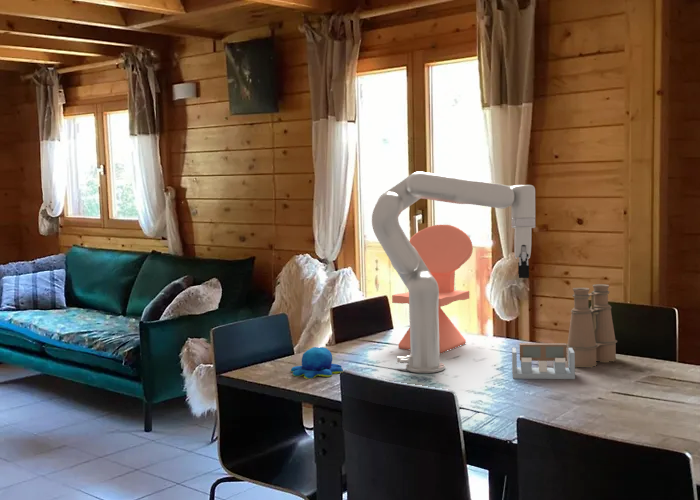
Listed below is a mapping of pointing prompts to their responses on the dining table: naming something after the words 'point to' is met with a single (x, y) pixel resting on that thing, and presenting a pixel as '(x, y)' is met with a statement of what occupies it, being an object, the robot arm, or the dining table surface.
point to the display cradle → (544, 368)
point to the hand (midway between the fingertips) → (523, 276)
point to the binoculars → (591, 327)
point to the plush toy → (316, 364)
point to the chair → (441, 276)
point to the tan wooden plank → (543, 351)
